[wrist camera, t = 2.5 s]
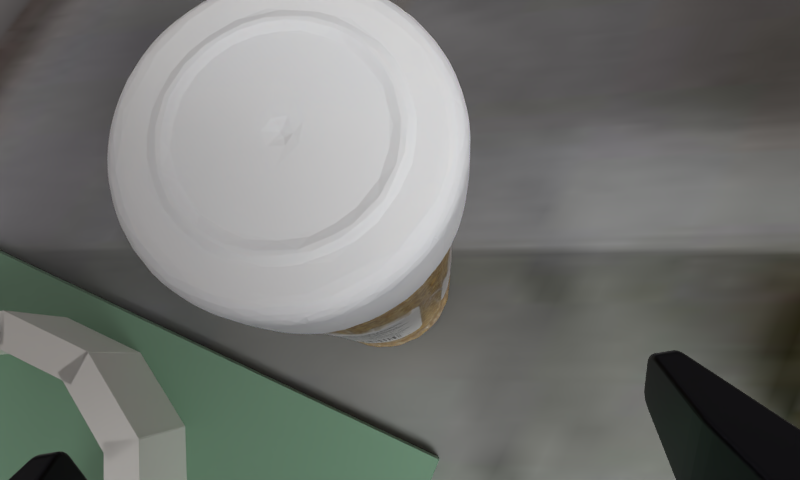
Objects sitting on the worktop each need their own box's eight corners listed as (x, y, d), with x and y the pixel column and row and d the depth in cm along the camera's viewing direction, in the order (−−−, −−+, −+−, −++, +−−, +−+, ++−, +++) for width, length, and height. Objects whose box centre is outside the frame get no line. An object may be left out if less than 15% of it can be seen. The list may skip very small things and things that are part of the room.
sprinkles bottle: (471, 254, 20) (541, 47, 7) (411, 373, 19) (357, 403, 6) (356, 197, 21) (215, -92, 7) (294, 310, 20) (15, 214, 7)
